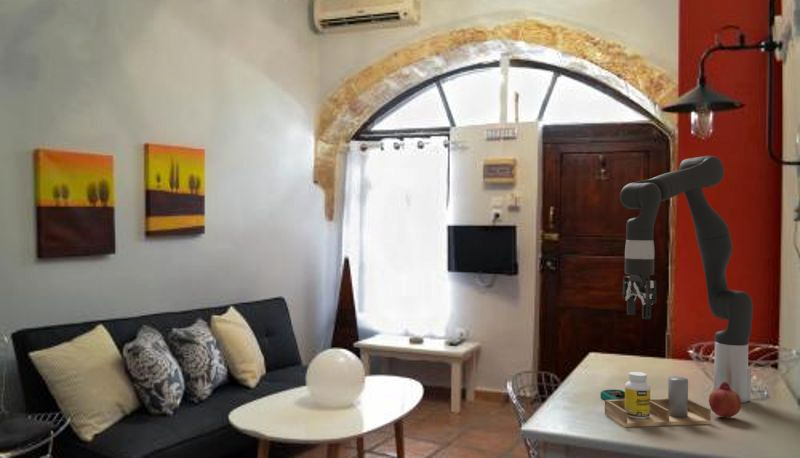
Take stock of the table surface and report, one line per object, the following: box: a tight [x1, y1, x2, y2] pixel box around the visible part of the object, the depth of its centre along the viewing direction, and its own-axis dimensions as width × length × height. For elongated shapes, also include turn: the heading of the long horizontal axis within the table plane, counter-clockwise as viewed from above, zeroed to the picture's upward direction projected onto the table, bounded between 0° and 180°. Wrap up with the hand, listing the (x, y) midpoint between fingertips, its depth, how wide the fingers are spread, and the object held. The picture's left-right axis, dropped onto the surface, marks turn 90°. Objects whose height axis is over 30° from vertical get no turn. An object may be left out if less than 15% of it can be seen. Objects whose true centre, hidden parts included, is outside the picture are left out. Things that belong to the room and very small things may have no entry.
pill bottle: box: [624, 371, 651, 419], centre depth 184 cm, size 6×6×12 cm
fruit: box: [708, 382, 742, 419], centre depth 187 cm, size 8×8×10 cm
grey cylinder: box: [667, 375, 689, 418], centre depth 185 cm, size 5×5×10 cm
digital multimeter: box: [600, 389, 625, 401], centre depth 201 cm, size 7×15×3 cm, turn 9°
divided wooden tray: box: [604, 397, 712, 428], centre depth 185 cm, size 24×12×4 cm, turn 98°
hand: (638, 316), depth 183 cm, fingers open, 8 cm apart
